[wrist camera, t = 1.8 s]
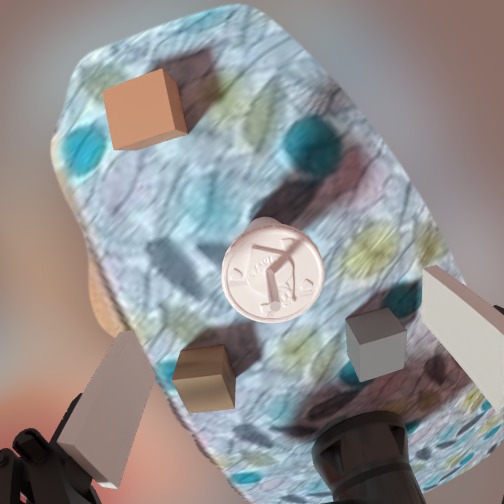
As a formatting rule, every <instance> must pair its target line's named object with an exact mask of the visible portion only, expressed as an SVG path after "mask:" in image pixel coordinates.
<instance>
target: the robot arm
mask: <svg viewBox="0 0 504 504" xmlns="http://www.w3.org/2000/svg"><path fill="white" fill-rule="evenodd" d="M421 321H422V322H423V323H424V324H425V326H426V327H427V328H428V329H429V330H430V331H431V332H432V333H433V335H434V336H435V337H436V338H437V339H438V340H439V341H440V343H441V344H442V345H443V346H444V347H445V348H446V349H447V351H448V352H449V353H450V354H451V355H452V356H453V358H454V359H455V360H456V361H457V362H458V364H459V365H460V366H461V367H462V368H463V370H464V371H465V372H466V373H467V375H468V376H469V377H470V378H471V379H472V381H473V382H474V383H475V384H476V386H477V387H478V388H479V390H480V391H481V392H482V393H483V395H484V396H485V397H486V399H487V400H488V401H489V402H490V404H491V405H492V406H493V408H494V409H495V410H496V412H497V411H498V410H500V409H501V408H503V407H504V308H501V307H499V306H497V305H494V306H491V305H490V304H489V303H488V302H486V301H485V300H483V299H482V298H481V297H480V296H478V295H477V294H476V293H475V292H473V291H472V290H471V289H469V288H468V287H466V286H465V285H464V284H462V283H461V282H460V281H458V280H457V279H456V278H454V277H453V276H451V275H450V274H449V273H447V272H446V271H444V270H443V269H441V268H440V267H439V266H437V265H434V266H431V267H427V268H424V269H423V290H422V310H421ZM155 377H156V375H155V373H154V372H153V370H152V368H151V366H150V364H149V362H148V360H147V358H146V356H145V354H144V351H143V349H142V347H141V345H140V343H139V341H138V339H137V337H136V334H135V332H134V330H133V331H125V332H120V333H119V334H118V336H117V337H116V339H115V341H114V342H113V344H112V345H111V347H110V349H109V351H108V352H107V354H106V355H105V357H104V359H103V360H102V362H101V363H100V365H99V367H98V368H97V370H96V372H95V374H94V375H93V377H92V379H91V380H90V382H89V384H88V385H87V387H86V389H85V391H84V392H83V393H80V394H79V395H78V396H77V397H76V398H75V399H74V400H73V401H72V402H71V404H70V406H69V408H68V410H67V412H66V413H65V415H64V416H63V419H62V420H61V422H60V424H59V426H58V427H57V429H56V431H55V433H54V435H53V436H52V438H51V440H50V442H49V443H48V442H47V441H46V440H45V439H44V437H43V436H42V435H41V434H40V433H39V432H38V431H37V430H36V429H33V428H29V429H25V430H23V431H22V432H20V433H19V434H18V435H17V436H16V437H15V439H14V441H13V446H12V447H13V449H14V450H15V451H16V452H17V453H18V454H19V455H20V456H21V457H18V456H17V455H16V454H15V453H14V452H13V451H12V450H10V449H8V448H4V449H1V450H0V504H25V503H23V502H22V501H21V500H20V494H21V495H22V496H24V497H25V498H26V504H102V503H101V501H100V499H99V497H98V495H97V493H96V490H95V489H94V488H93V486H92V485H91V482H92V479H94V480H95V481H96V482H97V483H98V484H99V485H101V486H102V487H108V488H114V489H119V486H120V483H121V480H122V476H123V473H124V470H125V466H126V463H127V460H128V457H129V454H130V451H131V447H132V444H133V441H134V438H135V435H136V432H137V429H138V426H139V423H140V420H141V417H142V414H143V411H144V408H145V406H146V403H147V399H148V397H149V394H150V391H151V388H152V386H153V383H154V380H155ZM312 459H313V464H314V466H315V469H316V470H317V472H318V473H319V474H320V476H321V477H322V479H323V480H324V482H325V483H326V485H327V486H328V487H329V489H330V490H331V492H332V496H333V500H334V502H329V503H322V504H426V502H425V499H424V497H423V494H422V492H421V490H420V487H419V485H418V482H417V480H416V478H415V476H414V473H413V471H412V469H411V467H410V464H409V455H408V435H407V429H406V427H405V425H404V423H403V421H402V419H401V417H400V416H398V415H397V414H395V413H391V412H373V413H367V414H363V415H360V416H356V417H354V418H351V419H348V420H346V421H344V422H342V423H340V424H338V425H336V426H334V427H333V428H331V429H330V430H328V431H327V432H325V433H324V434H323V435H322V436H321V437H320V438H319V439H318V440H317V441H316V442H315V444H314V446H313V448H312ZM502 504H504V497H503V500H502Z"/></svg>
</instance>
